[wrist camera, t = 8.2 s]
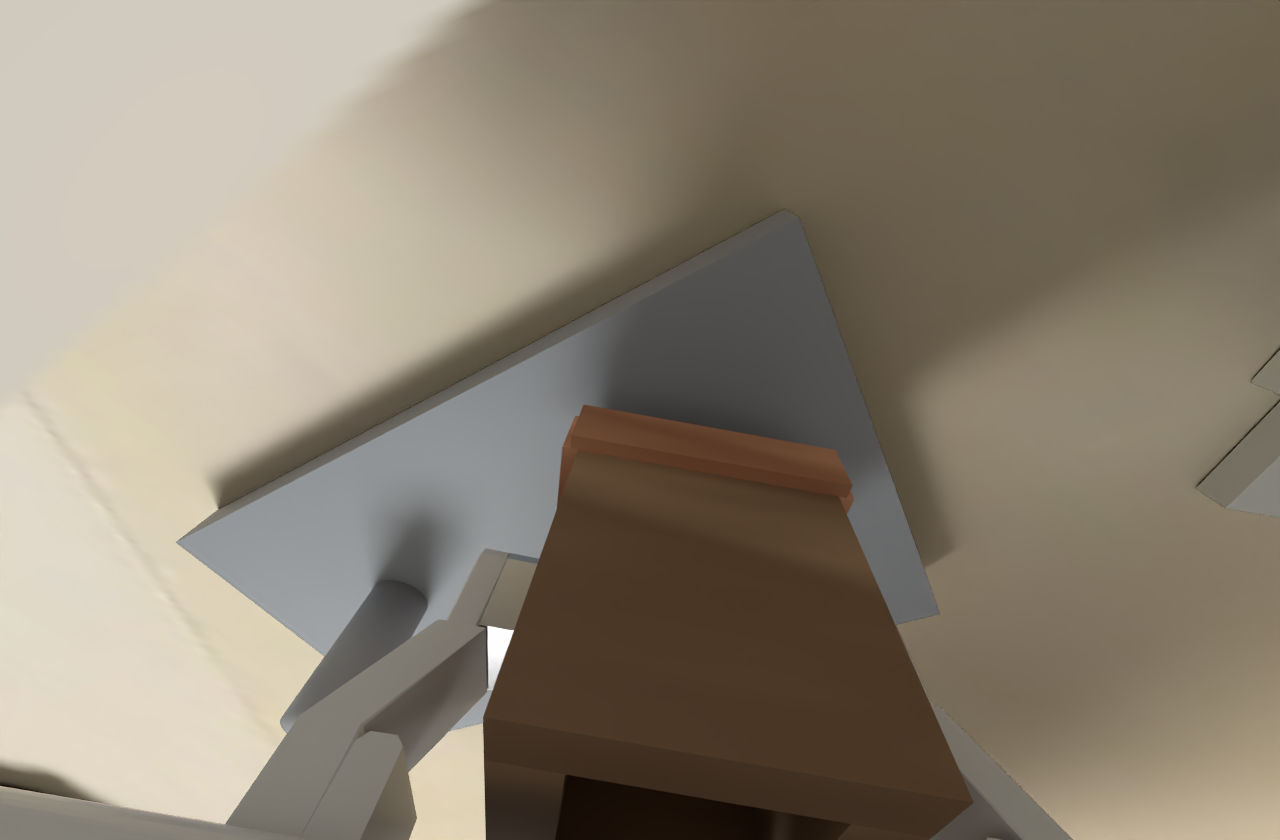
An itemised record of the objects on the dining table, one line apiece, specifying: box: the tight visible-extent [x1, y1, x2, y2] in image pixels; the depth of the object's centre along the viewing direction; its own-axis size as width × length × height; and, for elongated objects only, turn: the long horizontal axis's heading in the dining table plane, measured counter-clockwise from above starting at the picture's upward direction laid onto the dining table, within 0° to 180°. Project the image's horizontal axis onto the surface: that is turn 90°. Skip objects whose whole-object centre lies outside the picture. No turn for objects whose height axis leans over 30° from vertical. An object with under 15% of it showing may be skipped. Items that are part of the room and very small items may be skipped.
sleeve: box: [483, 405, 974, 840], centre depth 9 cm, size 6×6×6 cm
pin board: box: [176, 209, 940, 733], centre depth 13 cm, size 12×20×6 cm, turn 119°
